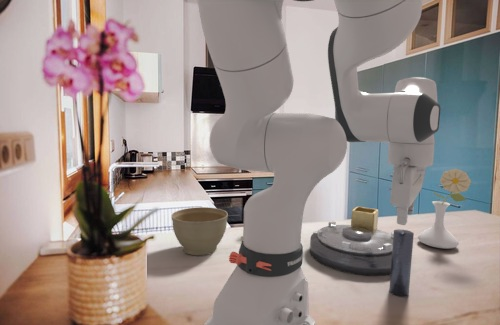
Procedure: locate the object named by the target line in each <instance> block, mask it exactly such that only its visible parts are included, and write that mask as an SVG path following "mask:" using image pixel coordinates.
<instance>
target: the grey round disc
mask: <svg viewBox="0 0 500 325" xmlns="http://www.w3.org/2000/svg"><path fill="white" fill-rule="evenodd" d="M350 218H351V219H350V220H351V222H350V224H337V223H336V222H335V221H329V222H328V226H324V227H321V228H319V229H317V231H318V237H317V238H318V240H319V242H320V243H321V244H323V245H324V246H326V247H328V248H330V249H333V250H336V251H339V252H343V253H348V254H353V255H361V256H384V255H389V254H392V248H393V235H394V232H393V231H392V232H391V233H389V232H386V231H383V230H381V229H378V224H379V223H378V222H379V221H378V220H379V209H377V208H371V207H363V206H355V207H354V208H353V209H352V210H351V216H350Z"/></svg>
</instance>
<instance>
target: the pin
mask: <svg viewBox="0 0 500 325" xmlns="http://www.w3.org/2000/svg"><path fill="white" fill-rule="evenodd" d="M393 233H394V235H393V248H392V262H391V274H390V279H389V290H388V291H389V292H390V293H391V294H392V295H393V296H396V297H400V298H405V297H408V296H409V295H410V284H411V270H412V262H413V260H412V257H413V248H414V232H412V231H411V230H408V229H398V228H397V229H394V230H393Z"/></svg>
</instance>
